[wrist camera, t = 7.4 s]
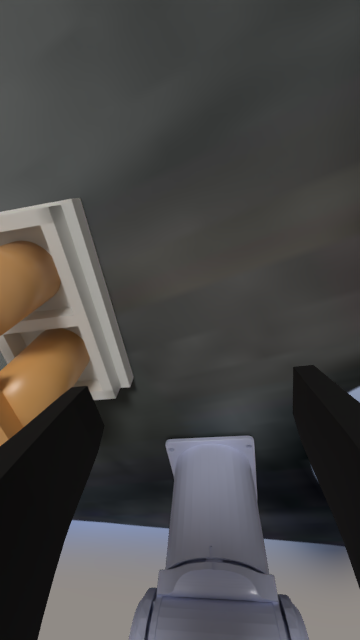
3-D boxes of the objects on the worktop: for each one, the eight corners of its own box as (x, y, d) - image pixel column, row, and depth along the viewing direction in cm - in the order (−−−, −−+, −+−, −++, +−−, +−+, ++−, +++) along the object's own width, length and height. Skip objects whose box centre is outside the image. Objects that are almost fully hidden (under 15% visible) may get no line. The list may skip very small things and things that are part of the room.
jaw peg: (96, 370, 20) (45, 460, 14) (49, 374, 21) (-23, 462, 14) (72, 306, 18) (-3, 378, 11) (19, 313, 19) (-82, 385, 12)
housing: (133, 377, 22) (105, 456, 16) (40, 384, 23) (-22, 461, 17) (79, 197, 16) (-3, 207, 10) (-42, 220, 17) (-187, 242, 11)
